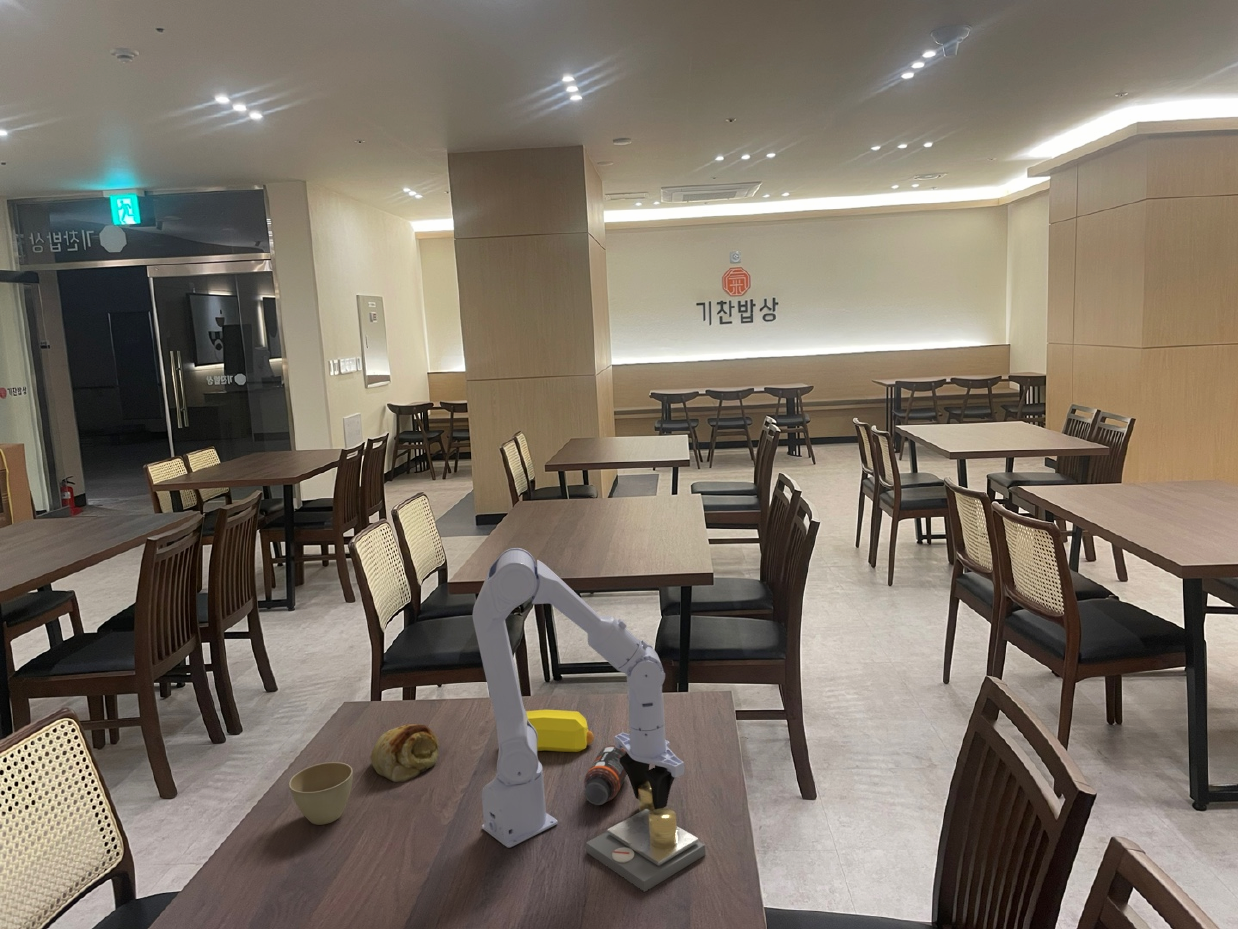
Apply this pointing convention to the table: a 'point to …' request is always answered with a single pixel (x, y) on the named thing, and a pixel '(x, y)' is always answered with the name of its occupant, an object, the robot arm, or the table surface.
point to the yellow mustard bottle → (560, 730)
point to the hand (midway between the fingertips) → (651, 802)
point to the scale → (639, 861)
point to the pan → (638, 838)
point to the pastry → (405, 752)
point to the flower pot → (322, 791)
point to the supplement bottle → (605, 776)
